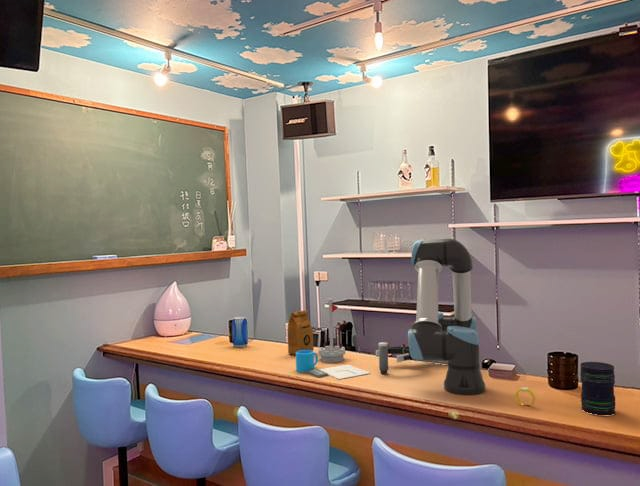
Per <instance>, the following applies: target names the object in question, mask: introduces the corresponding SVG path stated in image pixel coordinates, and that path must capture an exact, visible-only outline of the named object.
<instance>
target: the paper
mask: <svg viewBox="0 0 640 486" xmlns="http://www.w3.org/2000/svg"><path fill="white" fill-rule="evenodd" d="M318 369H319V368H318ZM319 370H321V371H323V372H326V373H328V377H332V378H334V379H336V380H339V381H340V380H346V379H350V378H354V377H355V378H356V377H361V376H366V375H370V374H371V372H369V371H367V370H364V369H361V368H358V367H356V366H353V365H350V364H343V365H336V366H332V367H327V368H325V367H324V368H320V369H319Z"/></svg>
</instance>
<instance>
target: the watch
mask: <svg viewBox="0 0 640 486" xmlns="http://www.w3.org/2000/svg"><path fill="white" fill-rule="evenodd" d="M520 392H527V393H529V394H530V396H531V399H532V401H531V403H529V405H530V406H529V407H531V406H533V405H534V403H535V401H536V399H535V397H536V396H535V394H534V393H533V392H532V390H530V389H529V387H527V386H526V387H520V389H518V390H517V392H516V393H515V400H516V402H517V403H518V404H519V405H520V404H521V403H522V401H520V399H519V393H520Z"/></svg>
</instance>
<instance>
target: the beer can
mask: <svg viewBox="0 0 640 486" xmlns="http://www.w3.org/2000/svg"><path fill="white" fill-rule="evenodd" d="M231 326H232V327H231V328H232V329H231V330H232V346H233V347H234V348H237V349H238V348H245V347H246V348H247V346H248V344H249V335H248V334H249V333H248V332H249V330H248V327H249V326H248V320H247V319H246V317H245V316H236V317H233V320H232V321H231Z"/></svg>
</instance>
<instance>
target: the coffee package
mask: <svg viewBox="0 0 640 486" xmlns="http://www.w3.org/2000/svg"><path fill="white" fill-rule="evenodd" d="M307 314H308V310H307V309H305V310H299V311H293V312H291V313H290V316H289V319H288V322H287V351H288V355H295V356H296V352H297V351H301V350H311V351H314V350H315V349H314V332H313V331H314V330H313V327H312V324H311V322H310V320H309V316H308V315H307Z"/></svg>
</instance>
